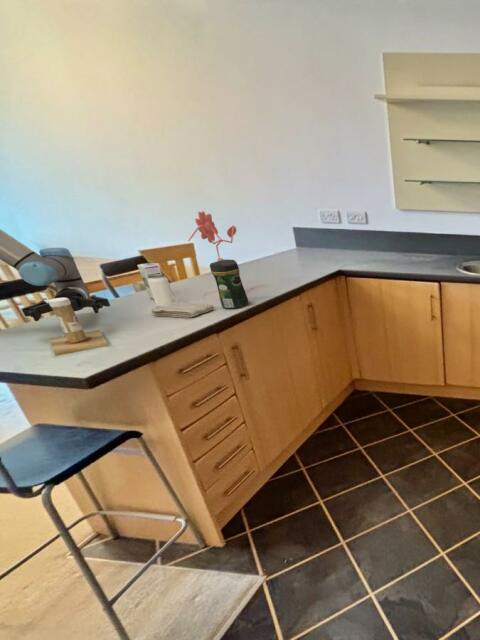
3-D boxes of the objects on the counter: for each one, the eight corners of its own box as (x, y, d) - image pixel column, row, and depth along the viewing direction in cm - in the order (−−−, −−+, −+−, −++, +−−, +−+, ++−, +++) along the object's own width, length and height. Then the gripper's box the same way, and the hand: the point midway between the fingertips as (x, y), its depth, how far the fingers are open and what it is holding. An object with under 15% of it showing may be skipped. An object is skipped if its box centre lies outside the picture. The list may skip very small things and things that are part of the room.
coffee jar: (235, 302, 176) (222, 257, 168) (252, 303, 175) (240, 258, 167) (218, 309, 167) (203, 262, 159) (236, 310, 167) (222, 263, 158)
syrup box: (171, 297, 181) (159, 263, 175) (155, 300, 177) (142, 266, 170) (165, 295, 184) (153, 262, 177) (149, 298, 179) (136, 264, 173)
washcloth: (175, 307, 168) (172, 300, 167) (216, 309, 166) (214, 302, 165) (149, 316, 157) (146, 308, 156) (193, 318, 156) (190, 310, 154)
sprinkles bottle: (86, 341, 132) (66, 299, 125) (66, 344, 129) (45, 301, 123) (88, 337, 135) (69, 296, 129) (69, 339, 132) (49, 298, 126)
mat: (50, 340, 134) (49, 338, 133) (100, 331, 142) (98, 329, 141) (55, 355, 123) (54, 353, 123) (108, 345, 131) (107, 342, 131)
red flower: (256, 288, 199) (236, 209, 183) (224, 302, 176) (198, 214, 160) (224, 287, 198) (200, 208, 183) (188, 302, 175) (157, 213, 159)
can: (176, 302, 175) (165, 273, 169) (177, 306, 170) (166, 276, 165) (156, 305, 171) (145, 275, 166) (157, 308, 167) (146, 278, 161)
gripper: (122, 303, 153) (122, 317, 139) (25, 315, 139) (13, 332, 125) (114, 283, 150) (113, 295, 136) (13, 293, 136) (0, 308, 121)
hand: (65, 312), depth 130 cm, fingers open, 13 cm apart
